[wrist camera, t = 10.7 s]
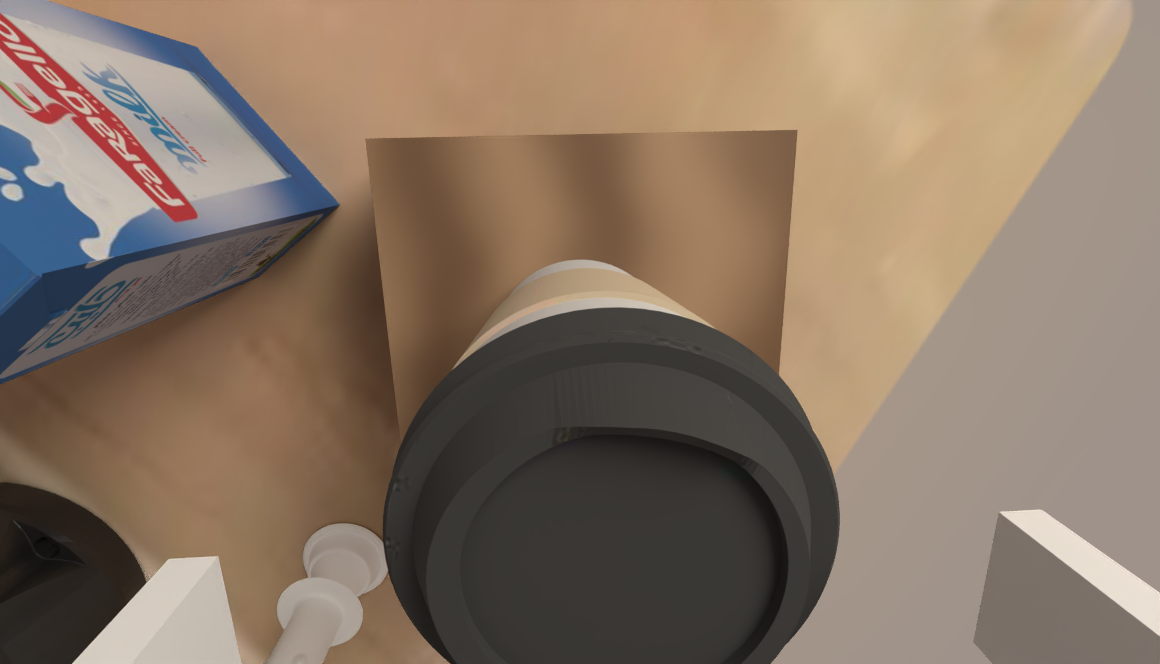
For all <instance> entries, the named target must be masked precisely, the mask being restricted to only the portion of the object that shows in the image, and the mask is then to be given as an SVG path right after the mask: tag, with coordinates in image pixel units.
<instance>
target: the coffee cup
mask: <svg viewBox="0 0 1160 664" xmlns="http://www.w3.org/2000/svg"><path fill="white" fill-rule="evenodd" d="M839 525H840V513H839V501H838V493H837V488H836V483H835V479H834V475H833V472H832V469H831V466H830V463H829V461H828V458H827V456H826V454H825V451H824V449H823V447H822V445H821V443H820V441H819V440H818V438H817V436H816V435H815V433H814V431H813V430H812V427H811V425H810V422H809V420H808V418H807V416H806V414H805V412H804V410H803V408H802V407H801V405H800V403H799V402H798V400H797V399H796V397H795V396H794V394H793V393H792V391H791V390H790V388H789V387H788V386H787V385H786V383H785V382H784V381H783V380H782V379H781V377H780V376H779V375H778V374H777V373H776V372H775V371H774V370H773V369H772V368H771V367H770V366H769V365H768V364H767V363H766V362H765V361H764V360H762V359H761V358H760V357H759V356H758V355H756V354H755V353H754V352H753V351H751V350H750V349H748V348H747V347H746V346H744V345H743V344H741V343H740V342H738V341H737V340H735V339H733V338H732V337H730V336H728V335H726V334H724V333H722V332H720V331H718V330H717V329H715V328H714V327H713V326H711V325H710V324H709V323H707V322H706V321H704V320H703V319H701V318H700V317H698V316H697V315H695V314H694V313H692V312H691V311H689V310H687V309H686V308H684V307H683V306H681V305H680V304H678V303H677V302H675V301H673V300H672V299H670V298H669V297H667V296H666V295H664V294H663V293H661V292H659V291H658V290H656V289H655V288H653V287H652V286H650V285H648V284H647V283H645V282H643V281H641V280H639V279H637V278H634V277H633V276H631V275H630V274H628V273H627V272H625V271H623V270H621V269H619V268H617V267H615V266H612V265H610V264H606V263H603V262H599V261H593V260H569V261H563V262H558V263H555V264H552V265H549V266H546V267H544V268H542V269H540V270H538V271H536V272H534V273H533V274H531V275H530V276H528V277H527V278H526V279H525V280H523V281H522V282H521V283H520V284H519V285H518V286H517V287H516V288H515V289H514V291H513V292H512V293H511V294H510V296H509V297H508V298H506V299H505V300H504V301H503V302H502V303H501V304H500V305H499V307H498V308H497V309H496V310H495V311H494V312H493V314H492V315H491V317H490V318H489V319H488V321H487V322H486V323H485V325H484V326H483V328H482V329H481V330H480V332H479V333H478V334H477V336H476V337H475V339H474V340H473V341H472V343H471V344H470V345H469V347H468V348H467V350H466V351H465V352H464V354H463V355H462V356H461V358H460V359H459V361H458V362H457V363H456V365H455V366H454V368H453V369H452V371H451V372H450V373H449V374H448V375H447V376H446V377H445V378H444V379H443V380H442V381H441V382H440V383H439V384H438V385H437V386H436V387H435V389H434V390H433V391H432V392H431V394H430V395H429V396H428V398H427V399H426V400H425V401H424V403H423V404H422V406H421V407H420V409H419V410H418V412H417V413H416V415H415V417H414V419H413V420H412V422H411V424H410V426H409V428H408V430H407V432H406V434H405V436H404V438H403V441H402V443H401V446H400V449H399V452H398V455H397V458H396V461H395V465H394V469H393V474H392V478H391V481H390V484H389V488H388V492H387V496H386V501H385V507H384V516H383V545H384V553H385V559H386V564H387V568H388V572H389V575H390V578H391V582H392V584H393V587H394V590H395V592H396V594H397V596H398V599H399V601H400V603H401V605H402V607H403V608H404V610H405V612H406V614H407V615H408V617H409V618H410V620H411V621H412V623H413V624H414V626H415V627H416V628H417V630H418V631H419V632H420V634H421V635H422V636H423V637H424V638H425V639H426V641H427V642H428V643H429V644H430V645H431V646H432V647H433V648H434V649H435V650H436V651H437V652H438V653H439V654H440V655H441V656H442V657H444V658H445V659H446V660H447V661H448V662H449V663H451V664H771V662H772V661H773V660H774V659H775V658H776V657H777V655H778V654H779V653H780V651H781V650H782V649H783V647H784V646H785V645H786V644H787V643H788V642H789V641H790V639H791V638H792V637H793V636H794V635H795V634H796V633H797V631H798V630H799V629H800V628H801V626H802V625H803V624H804V622H805V621H806V619H807V618H808V617H809V615H810V614H811V612H812V610H813V609H814V607H815V606H816V604H817V602H818V600H819V598H820V596H821V594H822V592H823V590H824V587H825V585H826V583H827V580H828V578H829V575H830V572H831V570H832V566H833V563H834V559H835V555H836V551H837V544H838V537H839Z"/></svg>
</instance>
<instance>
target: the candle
mask: <svg viewBox="0 0 1160 664" xmlns="http://www.w3.org/2000/svg"><path fill="white" fill-rule="evenodd" d="M303 564H304V568H305V570H306V572H307V576H308V578H305V579H302V580H299V581H297V582H295V583H293V584H291V585H290V586H289V587H287V588H286V589H285V590H284V591H283V593H282V594H281V596H280V598H279V600H278V603H277V616H278V620H279V622H280V624H281V626H282V628H283V629H284V631H283V633H282V635H281V637H280V638H279V640H278V642H277V644H276V646H275V647H274V649H273V651H272V653H271V654H270V656H269V657H268V658H267V660H266V661H265V662H264V663H263V664H323V662H324V660H325V657H326V655H327V653H328V651H329V648H330V647H332V646H336V645H340V644H342V643H344V642H346V641H348V640H349V639H351V638H352V637H353V636H354V635H355V634H356V633H357V632H358V630H359V628H360V626H361V624H362V620H363V609H362V605H361V603H360V601H359V599H358V596H360V595H361V594H364V593H367V592H369V591H371V590H373V589H374V588H376V587H377V586H378V585H379V584H380V583H381V582H382V581H383V580H384V578H385V576H386V575H387V572H388V568H387V564H386V559H385V553H384V545H383V542H382V541H381V539H380V538H379V537H378V536H377V535H375V534H374V533H373V532H371V531H370V530H368V529H366V528H364V527H362V526H359V525H355V524H349V523H338V524H332V525H328V526H326V527H323V528H321V529H319V530H318V531H316V532H315V533H314V534H313V535H312V536H311V537H310V538H309V539H308V541H307V543H306V545H305V547H304V550H303Z"/></svg>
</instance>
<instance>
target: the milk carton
mask: <svg viewBox="0 0 1160 664" xmlns="http://www.w3.org/2000/svg"><path fill="white" fill-rule="evenodd" d="M339 205H340V204H339V203H338V201H337V200H336V199H335V198H334V197H333V196H332V195H331V194H330V193H329V192H328V190H327V189H326V188H325V187H324V186H323V185H322V184H321V183H320V182H319V181H318V179H317V178H316V177H315V176H314V175H313V174H312V173H311V172H310V171H309V170H308V169H307V167H306V166H305V165H304V164H303V163H302V162H301V161H300V160H299V159H298V158H297V156H296V155H295V154H294V153H293V152H292V151H291V150H290V149H289V148H288V147H287V145H286V144H285V143H284V142H283V141H282V140H281V139H280V138H279V137H278V136H277V135H276V133H275V132H274V131H273V130H272V129H271V128H270V127H269V126H268V125H267V124H266V122H265V121H264V120H263V119H262V118H261V117H260V116H259V115H258V114H257V113H256V111H255V110H254V109H253V108H252V107H251V106H250V105H249V104H248V103H247V102H246V101H245V99H244V98H243V97H242V96H241V95H240V94H239V93H238V92H237V91H236V90H235V88H234V87H233V86H232V85H231V84H230V83H229V82H228V81H227V80H226V79H225V77H224V76H223V75H222V74H221V73H220V72H219V71H218V70H217V69H216V68H215V67H214V65H213V64H212V63H211V62H210V61H209V60H208V59H207V58H206V57H205V56H204V54H203V53H202V52H201V51H200V50H199V49H198V48H197V47H195V46H192V45H189V44H185V43H182V42H179V41H176V40H172V39H169V38H166V37H163V36H160V35H156V34H153V33H150V32H147V31H143V30H140V29H137V28H134V27H131V26H127V25H124V24H121V23H118V22H114V21H111V20H108V19H105V18H102V17H98V16H95V15H92V14H89V13H85V12H82V11H79V10H76V9H72V8H69V7H66V6H63V5H60V4H56V3H53V2H50V1H47V0H0V384H2V383H5V382H7V381H9V380H12V379H14V378H17V377H19V376H21V375H24V374H26V373H29V372H31V371H33V370H36V369H38V368H41V367H43V366H45V365H48V364H50V363H53V362H55V361H57V360H60V359H62V358H65V357H67V356H70V355H72V354H74V353H77V352H79V351H82V350H84V349H86V348H89V347H91V346H94V345H96V344H98V343H101V342H103V341H106V340H108V339H110V338H113V337H115V336H118V335H120V334H122V333H125V332H127V331H130V330H132V329H134V328H137V327H139V326H142V325H144V324H146V323H149V322H151V321H154V320H156V319H158V318H161V317H163V316H166V315H168V314H170V313H173V312H175V311H178V310H180V309H182V308H185V307H187V306H190V305H192V304H194V303H197V302H199V301H202V300H204V299H206V298H209V297H211V296H214V295H216V294H218V293H221V292H223V291H226V290H228V289H230V288H233V287H235V286H238V285H240V284H242V283H245V282H247V281H250V280H252V279H255V278H257V277H259V276H260V275H261V274H262V273H263V272H264V271H265V270H267V269H268V268H269V267H270V266H271V265H272V264H273V263H275V262H276V261H277V260H278V259H279V258H280V257H281V256H282V255H284V254H285V253H286V252H287V251H288V250H289V249H290V248H292V247H293V246H294V245H295V244H296V243H297V242H298V241H299V240H301V239H302V238H303V237H304V236H305V235H306V234H307V233H308V232H310V231H311V230H312V229H313V228H314V227H315V226H316V225H318V224H319V223H320V222H321V221H322V220H323V219H324V218H325V217H327V216H328V215H329V214H330V213H331V212H332V211H333V210H335V209H336V208H337V207H338V206H339Z"/></svg>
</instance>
